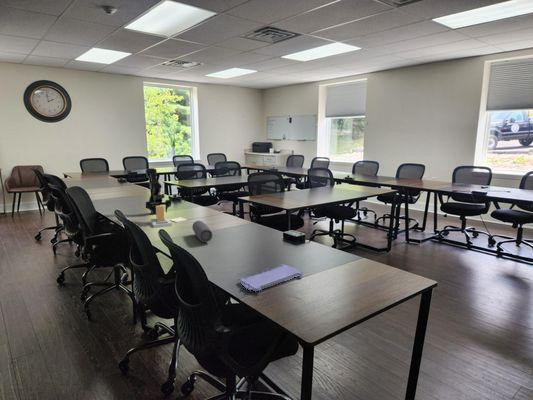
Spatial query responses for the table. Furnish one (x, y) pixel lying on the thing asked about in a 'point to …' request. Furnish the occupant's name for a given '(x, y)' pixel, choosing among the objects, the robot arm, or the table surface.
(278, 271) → the light purple flat block
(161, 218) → the module
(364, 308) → the table surface
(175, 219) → the pad
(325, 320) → the table surface
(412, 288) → the table surface
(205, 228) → the bluetooth speaker
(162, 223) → the dock
